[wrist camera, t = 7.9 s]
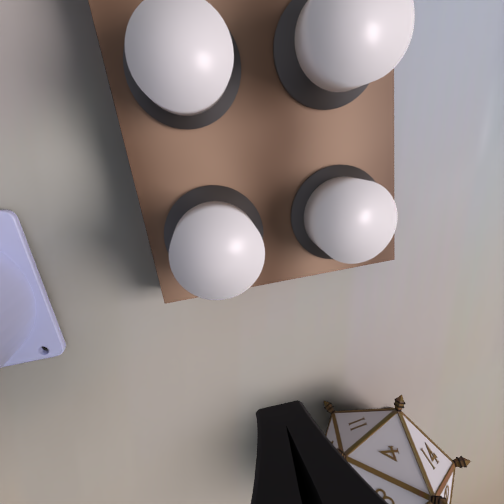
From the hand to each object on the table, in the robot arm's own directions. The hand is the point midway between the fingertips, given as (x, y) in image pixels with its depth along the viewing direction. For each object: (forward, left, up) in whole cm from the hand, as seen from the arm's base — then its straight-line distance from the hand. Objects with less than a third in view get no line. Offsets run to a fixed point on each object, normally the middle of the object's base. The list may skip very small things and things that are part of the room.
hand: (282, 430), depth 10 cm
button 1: (-1, +11, -7) cm, 13 cm away
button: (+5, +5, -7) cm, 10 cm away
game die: (+6, -11, -10) cm, 16 cm away
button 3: (+5, +12, -6) cm, 14 cm away
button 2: (-1, +5, -6) cm, 7 cm away
